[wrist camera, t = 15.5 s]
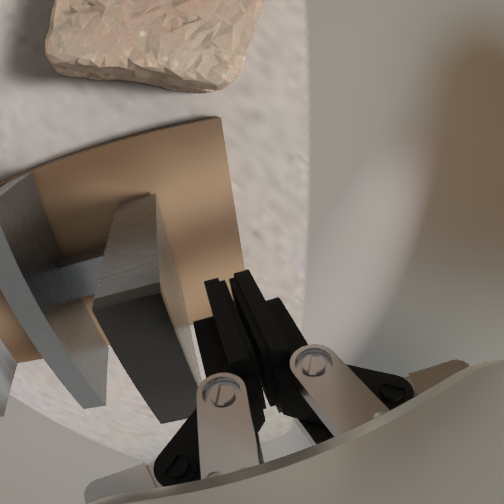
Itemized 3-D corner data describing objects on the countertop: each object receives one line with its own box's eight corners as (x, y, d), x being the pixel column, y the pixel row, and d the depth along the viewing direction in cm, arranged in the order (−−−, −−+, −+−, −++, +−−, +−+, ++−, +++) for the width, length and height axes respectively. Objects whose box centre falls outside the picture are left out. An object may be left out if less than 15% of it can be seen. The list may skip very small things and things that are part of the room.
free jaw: (9, 180, 12) (-83, 263, 5) (142, 135, 14) (126, 182, 6) (88, 352, 18) (81, 466, 11) (194, 327, 20) (224, 443, 13)
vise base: (-72, 220, 12) (-121, 266, 7) (216, 116, 15) (248, 128, 10) (3, 356, 18) (-15, 417, 13) (246, 299, 21) (277, 363, 16)
